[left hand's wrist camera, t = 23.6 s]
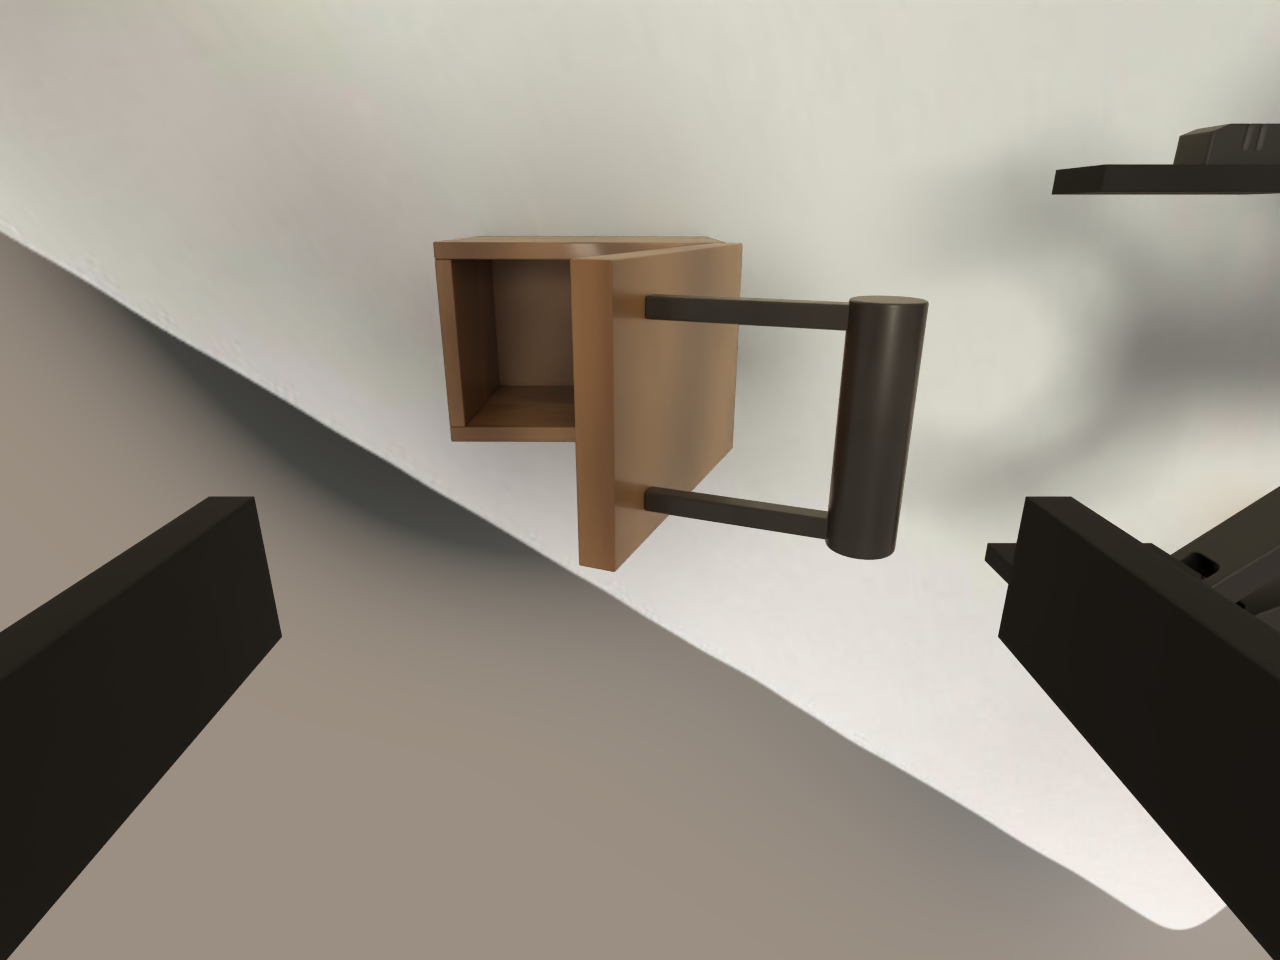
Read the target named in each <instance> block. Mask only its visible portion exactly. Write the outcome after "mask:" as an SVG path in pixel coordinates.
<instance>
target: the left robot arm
mask: <svg viewBox="0 0 1280 960" xmlns="http://www.w3.org/2000/svg"><path fill="white" fill-rule="evenodd" d="M281 637H282V634H281V630H280V624H279V619H278V614H277V609H276V604H275V599H274V594H273V589H272V584H271V579H270V574H269V569H268V564H267V559H266V554H265V549H264V544H263V539H262V534H261V529H260V524H259V519H258V514H257V509H256V504H255V499H254V497H208V498H206V499H205V500H203V501H202V502H200V503H199V504H197V505H195V506H194V507H192V508H191V509H189V510H188V511H186V512H185V513H183V514H182V515H180V516H179V517H177V518H175V519H174V520H172V521H171V522H169V523H168V524H166V525H165V526H163V527H162V528H160V529H159V530H157V531H155V532H154V533H152V534H151V535H149V536H148V537H146V538H145V539H143V540H142V541H140V542H139V543H137V544H135V545H134V546H132V547H131V548H129V549H128V550H126V551H125V552H123V553H122V554H120V555H119V556H117V557H115V558H114V559H112V560H111V561H109V562H108V563H106V564H105V565H103V566H102V567H100V568H99V569H97V570H96V571H94V572H92V573H91V574H89V575H88V576H86V577H85V578H83V579H82V580H80V581H79V582H77V583H75V584H74V585H72V586H71V587H69V588H68V589H66V590H65V591H63V592H62V593H60V594H59V595H57V596H55V597H54V598H52V599H51V600H49V601H48V602H46V603H45V604H43V605H42V606H40V607H39V608H37V609H35V610H34V611H32V612H31V613H29V614H28V615H26V616H25V617H23V618H22V619H20V620H19V621H17V622H15V623H14V624H12V625H11V626H9V627H8V628H6V629H5V630H3V631H2V632H0V960H7V959H8V958H9V956H10V955H11V954H12V953H13V952H14V950H15V949H16V948H17V947H18V946H19V944H20V943H21V942H22V941H23V940H24V939H25V937H26V936H27V935H28V934H29V933H30V932H31V931H32V929H33V928H34V927H35V926H36V925H37V923H38V922H39V921H40V920H41V919H42V918H43V916H44V915H45V914H46V913H47V912H48V911H49V909H50V908H51V907H52V906H53V905H54V904H55V902H56V901H57V900H58V899H59V898H60V896H61V895H62V894H63V893H64V892H65V891H66V889H67V888H68V887H69V886H70V885H71V884H72V882H73V881H74V880H75V879H76V878H77V877H78V875H79V874H80V873H81V872H82V871H83V870H84V868H85V867H86V866H87V865H88V864H89V862H90V861H91V860H92V859H93V858H94V857H95V855H96V854H97V853H98V852H99V851H100V850H101V848H102V847H103V846H104V845H105V844H106V843H107V841H108V840H109V839H110V838H111V837H112V835H113V834H114V833H115V832H116V831H117V830H118V828H119V827H120V826H121V825H122V824H123V823H124V821H125V820H126V819H127V818H128V817H129V815H130V814H131V813H132V812H133V811H134V810H135V808H136V807H137V806H138V805H139V804H140V803H141V801H142V800H143V799H144V798H145V797H146V796H147V794H148V793H149V792H150V791H151V790H152V789H153V787H154V786H155V785H156V784H157V783H158V782H159V780H160V779H161V778H162V777H163V776H164V774H165V773H166V772H167V771H168V770H169V769H170V767H171V766H172V765H173V764H174V763H175V762H176V760H177V759H178V758H179V757H180V756H181V755H182V753H183V752H184V751H185V750H186V749H187V747H188V746H189V745H190V744H191V743H192V742H193V740H194V739H195V738H196V737H197V736H198V735H199V733H200V732H201V731H202V730H203V729H204V728H205V726H206V725H207V724H208V723H209V722H210V720H211V719H212V718H213V717H214V716H215V715H216V713H217V712H218V711H219V710H220V709H221V708H222V706H223V705H224V704H225V703H226V702H227V701H228V699H229V698H230V697H231V696H232V695H233V693H234V692H235V691H236V690H237V689H238V688H239V686H240V685H241V684H242V683H243V682H244V681H245V679H246V678H247V677H248V676H249V675H250V674H251V672H252V671H253V670H254V669H255V668H256V666H257V665H258V664H259V663H260V662H261V661H262V659H263V658H264V657H265V656H266V655H267V654H268V652H269V651H270V650H271V649H272V648H273V647H274V645H275V644H276V643H277V642H278V641H279V639H280V638H281ZM998 637H999V638H1000V640H1001V641H1002V642H1003V643H1004V644H1005V645H1006V647H1007V648H1008V649H1009V650H1010V651H1011V652H1012V654H1013V655H1014V656H1015V657H1016V658H1017V659H1018V661H1019V662H1020V663H1021V664H1022V665H1023V667H1024V668H1025V669H1026V670H1027V671H1028V672H1029V674H1030V675H1031V676H1032V677H1033V678H1034V679H1035V681H1036V682H1037V683H1038V684H1039V685H1040V686H1041V688H1042V689H1043V690H1044V691H1045V692H1046V693H1047V695H1048V696H1049V697H1050V698H1051V699H1052V701H1053V702H1054V703H1055V704H1056V705H1057V706H1058V708H1059V709H1060V710H1061V711H1062V712H1063V713H1064V715H1065V716H1066V717H1067V718H1068V719H1069V720H1070V722H1071V723H1072V724H1073V725H1074V726H1075V728H1076V729H1077V730H1078V731H1079V732H1080V733H1081V735H1082V736H1083V737H1084V738H1085V739H1086V740H1087V742H1088V743H1089V744H1090V745H1091V746H1092V747H1093V749H1094V750H1095V751H1096V752H1097V753H1098V755H1099V756H1100V757H1101V758H1102V759H1103V760H1104V762H1105V763H1106V764H1107V765H1108V766H1109V767H1110V769H1111V770H1112V771H1113V772H1114V773H1115V774H1116V776H1117V777H1118V778H1119V779H1120V780H1121V782H1122V783H1123V784H1124V785H1125V786H1126V787H1127V789H1128V790H1129V791H1130V792H1131V793H1132V794H1133V796H1134V797H1135V798H1136V799H1137V800H1138V801H1139V803H1140V804H1141V805H1142V806H1143V807H1144V808H1145V810H1146V811H1147V812H1148V813H1149V814H1150V816H1151V817H1152V818H1153V819H1154V820H1155V821H1156V823H1157V824H1158V825H1159V826H1160V827H1161V828H1162V830H1163V831H1164V832H1165V833H1166V834H1167V835H1168V837H1169V838H1170V839H1171V840H1172V841H1173V843H1174V844H1175V845H1176V846H1177V847H1178V848H1179V850H1180V851H1181V852H1182V853H1183V854H1184V855H1185V857H1186V858H1187V859H1188V860H1189V861H1190V862H1191V864H1192V865H1193V866H1194V867H1195V868H1196V870H1197V871H1198V872H1199V873H1200V874H1201V875H1202V877H1203V878H1204V879H1205V880H1206V881H1207V882H1208V884H1209V885H1210V886H1211V887H1212V888H1213V889H1214V891H1215V892H1216V893H1217V894H1218V895H1219V896H1220V898H1221V899H1222V900H1223V901H1224V902H1225V904H1226V905H1227V906H1228V907H1229V908H1230V909H1231V910H1232V912H1233V913H1234V914H1235V915H1236V916H1237V918H1238V919H1239V920H1240V921H1241V922H1242V923H1243V925H1244V926H1245V927H1246V928H1247V929H1248V931H1249V932H1250V933H1251V934H1252V935H1253V936H1254V938H1255V939H1256V940H1257V941H1258V942H1259V943H1260V945H1261V946H1262V947H1263V948H1264V949H1265V950H1266V952H1267V953H1268V954H1269V955H1270V956H1271V958H1272V959H1273V960H1280V632H1278V631H1277V630H1275V629H1274V628H1272V627H1271V626H1269V625H1268V624H1266V623H1265V622H1263V621H1261V620H1260V619H1258V618H1257V617H1255V616H1254V615H1252V614H1251V613H1249V612H1248V611H1246V610H1245V609H1243V608H1241V607H1240V606H1238V605H1237V604H1235V603H1234V602H1232V601H1231V600H1229V599H1228V598H1226V597H1225V596H1223V595H1221V594H1220V593H1218V592H1217V591H1215V590H1214V589H1212V588H1211V587H1209V586H1208V585H1206V584H1205V583H1203V582H1201V581H1200V580H1198V579H1197V578H1195V577H1194V576H1192V575H1191V574H1189V573H1188V572H1186V571H1185V570H1183V569H1181V568H1180V567H1178V566H1177V565H1175V564H1174V563H1172V562H1171V561H1169V560H1168V559H1166V558H1165V557H1163V556H1161V555H1160V554H1158V553H1157V552H1155V551H1154V550H1152V549H1151V548H1149V547H1148V546H1146V545H1145V544H1143V543H1141V542H1140V541H1138V540H1137V539H1135V538H1134V537H1132V536H1131V535H1129V534H1128V533H1126V532H1125V531H1123V530H1121V529H1120V528H1118V527H1117V526H1115V525H1114V524H1112V523H1111V522H1109V521H1108V520H1106V519H1105V518H1103V517H1101V516H1100V515H1098V514H1097V513H1095V512H1094V511H1092V510H1091V509H1089V508H1088V507H1086V506H1085V505H1083V504H1081V503H1080V502H1078V501H1077V500H1075V499H1074V498H1072V497H1026V499H1025V504H1024V509H1023V514H1022V519H1021V524H1020V529H1019V534H1018V539H1017V544H1016V549H1015V554H1014V559H1013V564H1012V569H1011V574H1010V579H1009V584H1008V589H1007V594H1006V599H1005V604H1004V609H1003V614H1002V619H1001V624H1000V629H999V634H998Z"/></svg>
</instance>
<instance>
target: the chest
mask: <svg viewBox="0 0 1280 960" xmlns="http://www.w3.org/2000/svg"><path fill="white" fill-rule="evenodd" d="M711 243H725V242H722V241H719V240H716V239H712V238H709V237H591V236H479V237H470V238H462V239H454V240H446V241H437V242H434V243H433V246H434V257H435V259H436V260H435V268H436V279H437V290H438V301H439V311H440V322H441V333H442V344H443V355H444V366H445V377H446V387H447V398H448V409H449V420H450V426H451V427H450V430H451V440H452V441H486V442H576V439H575V406H574V372H573V339H572V306H571V272H570V260H571V259H573V258H582V257H592V256H601V255H610V254H619V253H628V252H637V251H647V250H656V249H665V248H674V247H683V246H692V245H702V244H711Z"/></svg>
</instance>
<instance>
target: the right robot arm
mask: <svg viewBox="0 0 1280 960" xmlns="http://www.w3.org/2000/svg"><path fill="white" fill-rule="evenodd" d="M1272 193H1280V124H1227V125H1220V126H1214V127H1208V128H1201V129H1196V130H1194V131H1191V132H1189V133H1186V134H1184V135H1181V136H1180V138H1179V142H1178V146H1177V150H1176V155H1175V159H1174V163H1173V165H1097V166H1088V167H1079V168H1070V169H1062V170H1056V174H1055V180H1054V185H1053V190H1052V194H1272ZM1016 544H1017V543H988V544H987V550H986V555H985V561H986V562H987V563H988V564H989V565H990V566H991V567H992V568H993V569H994V570H995V571H996V572H997V573H998V574H999V575H1000V576H1001V577H1002V578H1003V579H1004V580H1005V581H1006V582H1007V583H1008V584H1009V579H1010V574H1011V569H1012V564H1013V559H1014V554H1015V549H1016ZM1143 544H1145V545H1146V546H1148V547H1149V548H1151V549H1152V550H1154V551H1155V552H1157V553H1158V554H1160V555H1161V556H1163V557H1165V558H1166V559H1168V560H1169V561H1171V562H1172V563H1174V564H1175V565H1177V566H1178V567H1180V568H1181V569H1183V570H1185V571H1186V572H1188V573H1189V574H1191V575H1192V576H1194V577H1195V578H1197V579H1198V580H1200V579H1204V580H1203V581H1201V580H1200V581H1201V582H1203V583H1205V584H1206V585H1208V586H1209V587H1211V588H1212V589H1214V590H1215V591H1217V592H1218V593H1220V594H1221V595H1223V596H1225V597H1226V598H1228V599H1229V600H1231V601H1232V602H1234V603H1235V604H1237V605H1238V606H1240V607H1241V608H1243V609H1245V610H1246V611H1248V612H1249V613H1251V614H1252V615H1254V616H1255V617H1257V618H1258V619H1260V620H1261V621H1263V622H1265V623H1266V624H1268V625H1269V626H1271V627H1272V628H1274V629H1275V630H1277V631H1278V632H1280V486H1279V487H1278V488H1276V489H1275V490H1273V491H1272V492H1270V493H1268V494H1267V495H1265V496H1264V497H1262V498H1260V499H1259V500H1257V501H1256V502H1254V503H1252V504H1251V505H1249V506H1248V507H1246V508H1245V509H1243V510H1241V511H1240V512H1238V513H1237V514H1235V515H1233V516H1232V517H1230V518H1229V519H1227V520H1225V521H1224V522H1222V523H1221V524H1219V525H1217V526H1216V527H1214V528H1213V529H1211V530H1210V531H1208V532H1206V533H1205V534H1203V535H1202V536H1200V537H1198V538H1197V539H1195V540H1194V541H1192V542H1190V543H1189V544H1187V545H1186V546H1184V547H1183V548H1181V549H1179V550H1178V551H1176V552H1175V553H1173V554H1171V555H1169V554H1168V553H1166V552H1165V551H1163V550H1161V549H1160V548H1158V547H1157V546H1155V545H1154V544H1152V543H1143Z"/></svg>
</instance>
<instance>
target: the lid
mask: <svg viewBox="0 0 1280 960" xmlns="http://www.w3.org/2000/svg"><path fill="white" fill-rule="evenodd" d="M741 265H742V243H711V244H702V245H692V246H683V247H674V248H665V249H656V250H647V251H637V252H628V253H619V254H610V255H601V256H592V257H582V258H573V259H571V260H570V272H571V306H572V339H573V372H574V406H575V439H576V472H577V506H578V539H579V565H581V566H586V567H592V568H597V569H602V570H607V571H612V572H615V571H616V570H617V569H618V568H619V567H620V566H621V565H622V564H623V563H624V562H625V561H626V560H627V559H628V557H629V556H630V555H631V554H632V553H633V552H634V551H635V550H636V549H637V548H638V547H639V546H640V545H641V544H642V543H643V542H644V541H645V540H646V538H647V537H648V536H649V535H650V534H651V533H652V532H653V531H654V530H655V529H656V528H657V527H658V526H659V525H660V524H661V523H662V522H663V521H664V520H665V518H666V517H667V516H668V515H675V516H681V517H688V518H694V519H700V520H707V521H713V522H719V523H725V524H732V525H738V526H744V527H751V528H757V529H763V530H770V531H776V532H782V533H789V534H795V535H801V536H808V537H814V538H820V539H825V542H826V545H827V546H828V547H829V548H830V549H831V550H833V551H834V552H836V553H838V554H841V555H843V556H847V557H851V558H856V559H864V560H874V559H882V558H885V557H888V556H890V555H891V554H892V553H893V552H894V550H895V545H896V538H897V531H898V523H899V516H900V509H901V501H902V494H903V487H904V480H905V472H906V465H907V458H908V450H909V443H910V436H911V429H912V421H913V414H914V407H915V400H916V392H917V385H918V378H919V370H920V363H921V356H922V349H923V341H924V334H925V327H926V319H927V312H928V305H929V304H928V301H926V300H924V299H919V298H911V297H899V296H859V297H853V298H851V299H850V300H849V302H829V301H805V300H782V299H759V298H740V285H741ZM739 325H756V326H774V327H791V328H809V329H827V330H844V331H846V336H845V346H844V356H843V366H842V376H841V386H840V396H839V406H838V416H837V426H836V436H835V446H834V456H833V466H832V476H831V486H830V496H829V506H828V512H827V511H820V510H813V509H807V508H800V507H793V506H786V505H779V504H772V503H765V502H758V501H751V500H744V499H737V498H730V497H724V496H717V495H710V494H703V493H696V492H691V491H692V490H693V489H694V488H695V487H696V486H697V485H698V484H699V483H700V482H701V481H702V479H703V478H704V477H705V476H706V475H707V474H708V473H709V472H710V471H711V470H712V469H713V468H714V467H715V466H716V465H717V464H718V463H719V462H720V461H721V459H722V458H723V457H724V456H725V455H726V454H727V453H728V452H729V451H730V450H731V449H732V448H733V429H734V408H735V388H736V367H737V347H738V326H739Z"/></svg>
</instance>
